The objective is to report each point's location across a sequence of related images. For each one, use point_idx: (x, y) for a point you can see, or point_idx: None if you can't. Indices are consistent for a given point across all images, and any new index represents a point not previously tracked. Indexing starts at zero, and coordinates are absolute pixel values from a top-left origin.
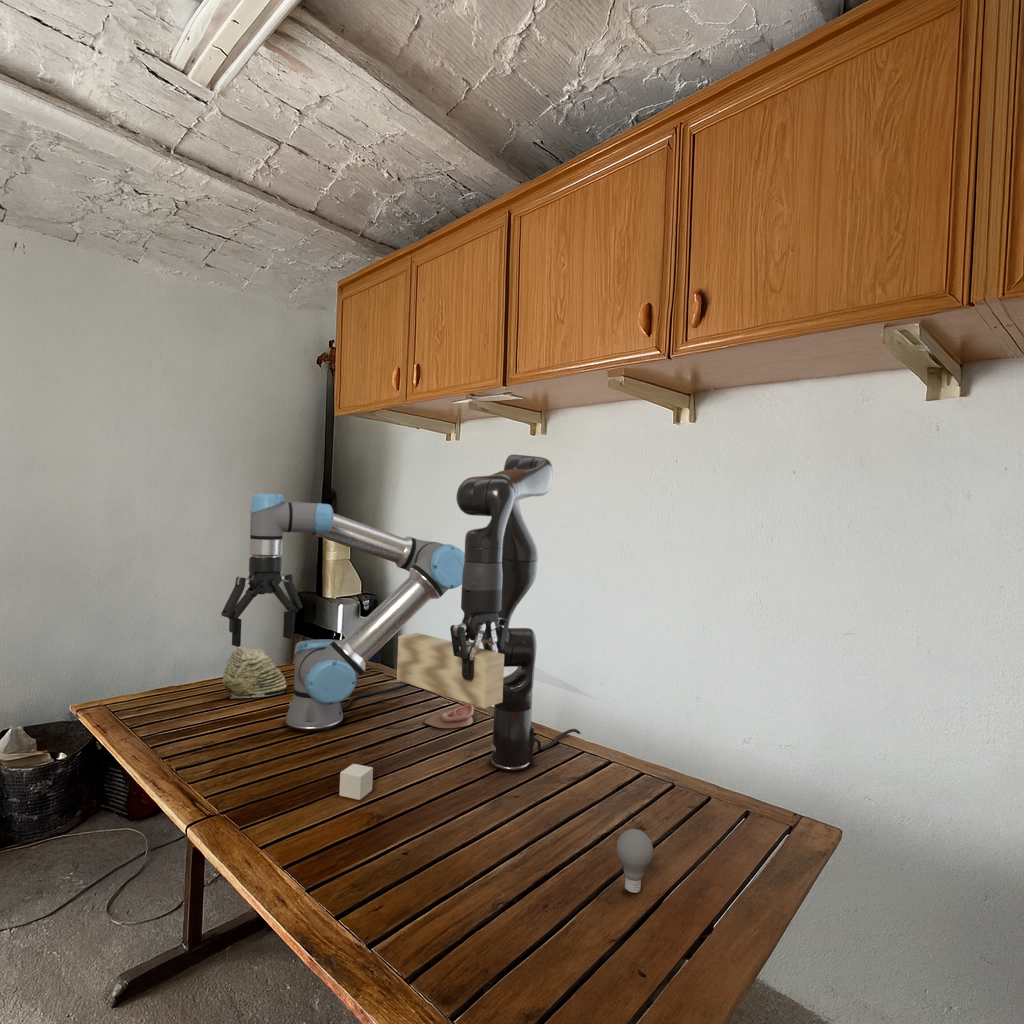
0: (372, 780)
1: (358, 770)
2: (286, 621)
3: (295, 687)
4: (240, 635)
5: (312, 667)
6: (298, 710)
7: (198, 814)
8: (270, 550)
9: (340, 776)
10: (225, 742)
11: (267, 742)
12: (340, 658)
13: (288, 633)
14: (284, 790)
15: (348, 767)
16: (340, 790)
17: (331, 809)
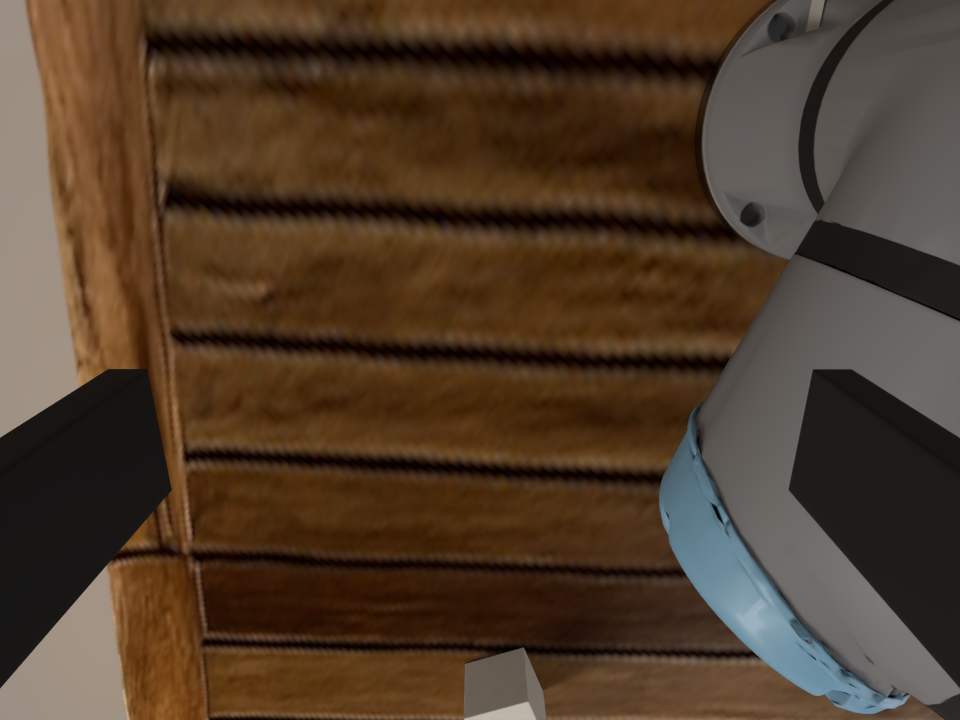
0: (545, 714)
1: None
2: (950, 569)
3: (834, 92)
4: (89, 579)
5: (740, 557)
6: (750, 161)
7: (142, 526)
8: None
9: (464, 710)
10: (415, 59)
11: (541, 193)
12: (910, 693)
13: (824, 512)
14: (376, 557)
15: (500, 711)
16: (466, 676)
17: (409, 697)
